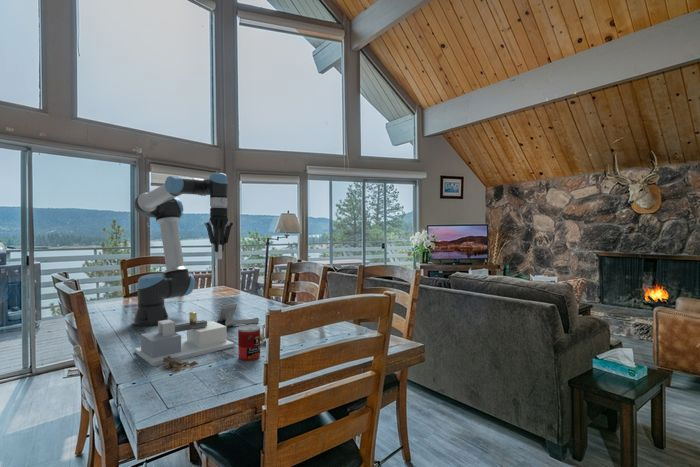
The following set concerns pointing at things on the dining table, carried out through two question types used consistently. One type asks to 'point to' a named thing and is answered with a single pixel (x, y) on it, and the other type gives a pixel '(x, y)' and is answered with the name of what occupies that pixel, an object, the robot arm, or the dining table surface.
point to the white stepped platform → (182, 342)
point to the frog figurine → (178, 364)
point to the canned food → (249, 342)
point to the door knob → (262, 334)
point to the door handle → (228, 313)
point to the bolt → (191, 323)
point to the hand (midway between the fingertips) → (219, 258)
